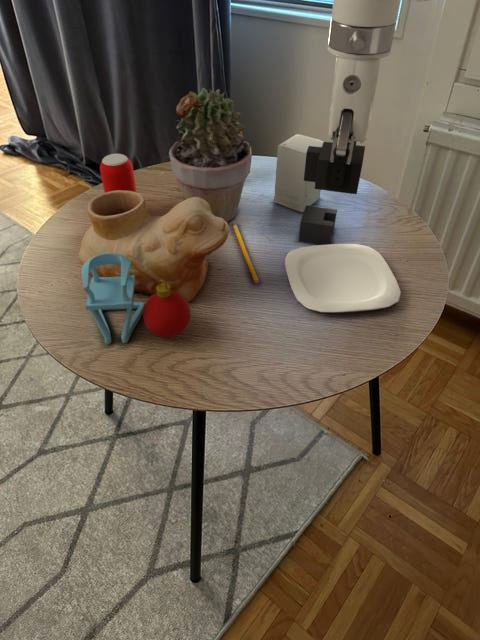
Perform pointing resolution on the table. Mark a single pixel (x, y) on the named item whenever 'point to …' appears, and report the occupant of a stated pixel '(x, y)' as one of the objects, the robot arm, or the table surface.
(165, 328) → the christmas ornament
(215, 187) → the potted plant
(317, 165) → the black rectangular block
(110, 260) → the chair
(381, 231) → the table surface
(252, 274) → the pencil
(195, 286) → the ceramic vessel
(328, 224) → the socket pad
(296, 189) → the white packaging box
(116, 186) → the beverage can
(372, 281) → the plate
